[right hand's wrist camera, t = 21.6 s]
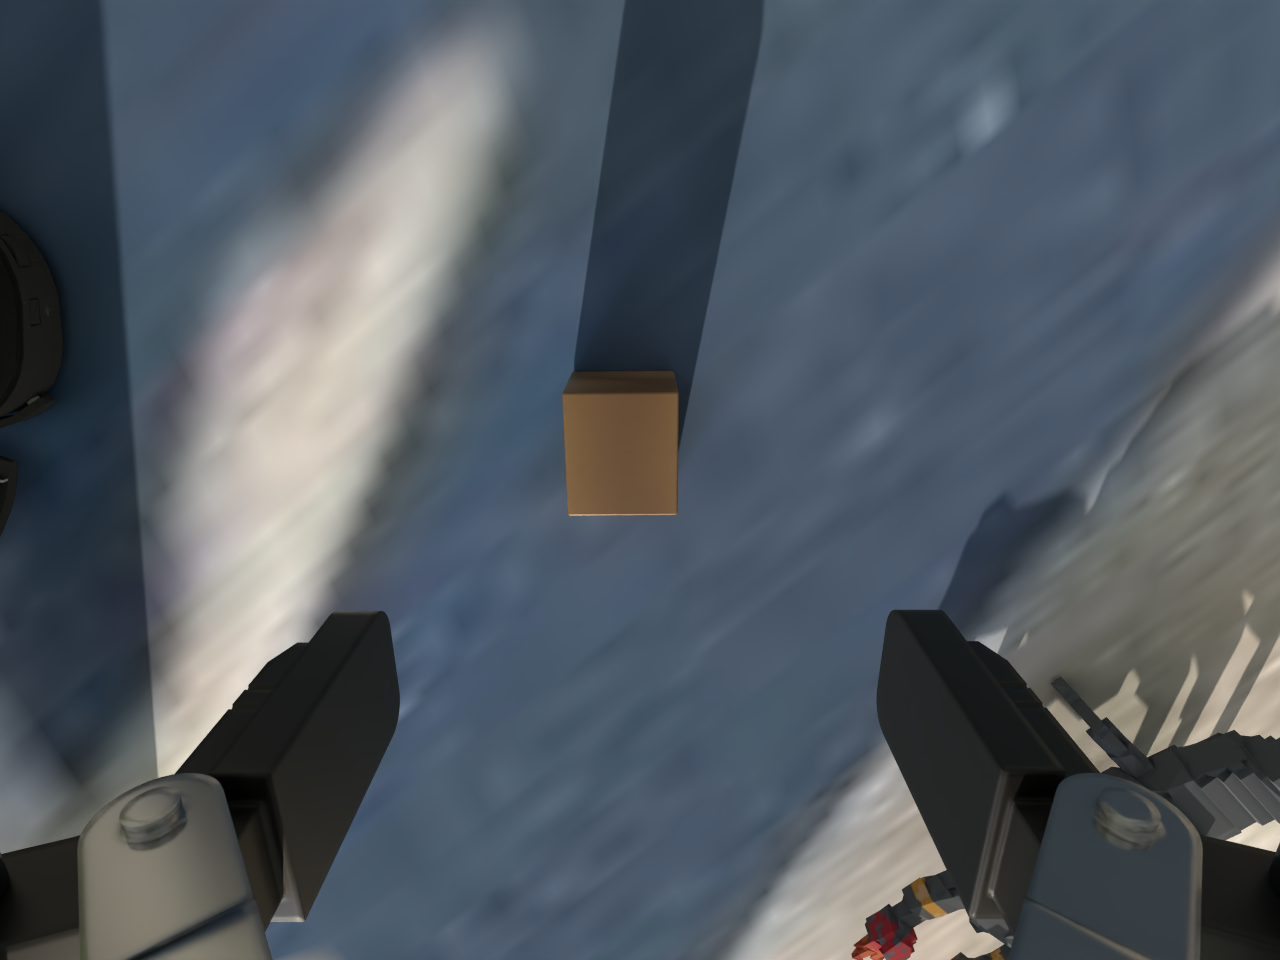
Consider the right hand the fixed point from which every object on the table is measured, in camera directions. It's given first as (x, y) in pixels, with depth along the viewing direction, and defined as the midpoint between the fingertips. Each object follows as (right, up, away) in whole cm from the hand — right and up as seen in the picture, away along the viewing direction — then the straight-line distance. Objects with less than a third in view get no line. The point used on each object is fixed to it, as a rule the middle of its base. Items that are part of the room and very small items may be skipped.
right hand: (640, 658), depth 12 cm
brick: (-1, +5, +20) cm, 21 cm away
